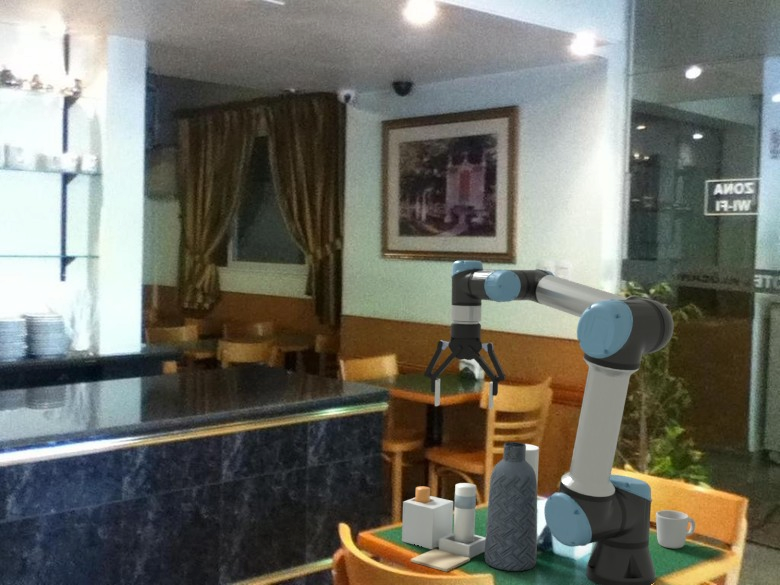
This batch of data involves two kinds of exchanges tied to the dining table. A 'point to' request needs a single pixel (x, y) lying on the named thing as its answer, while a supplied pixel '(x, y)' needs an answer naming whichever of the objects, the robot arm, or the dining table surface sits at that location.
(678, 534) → the cup
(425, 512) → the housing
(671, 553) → the dining table surface
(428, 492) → the brown egg
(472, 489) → the cylinder
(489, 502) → the vase
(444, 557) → the coaster
